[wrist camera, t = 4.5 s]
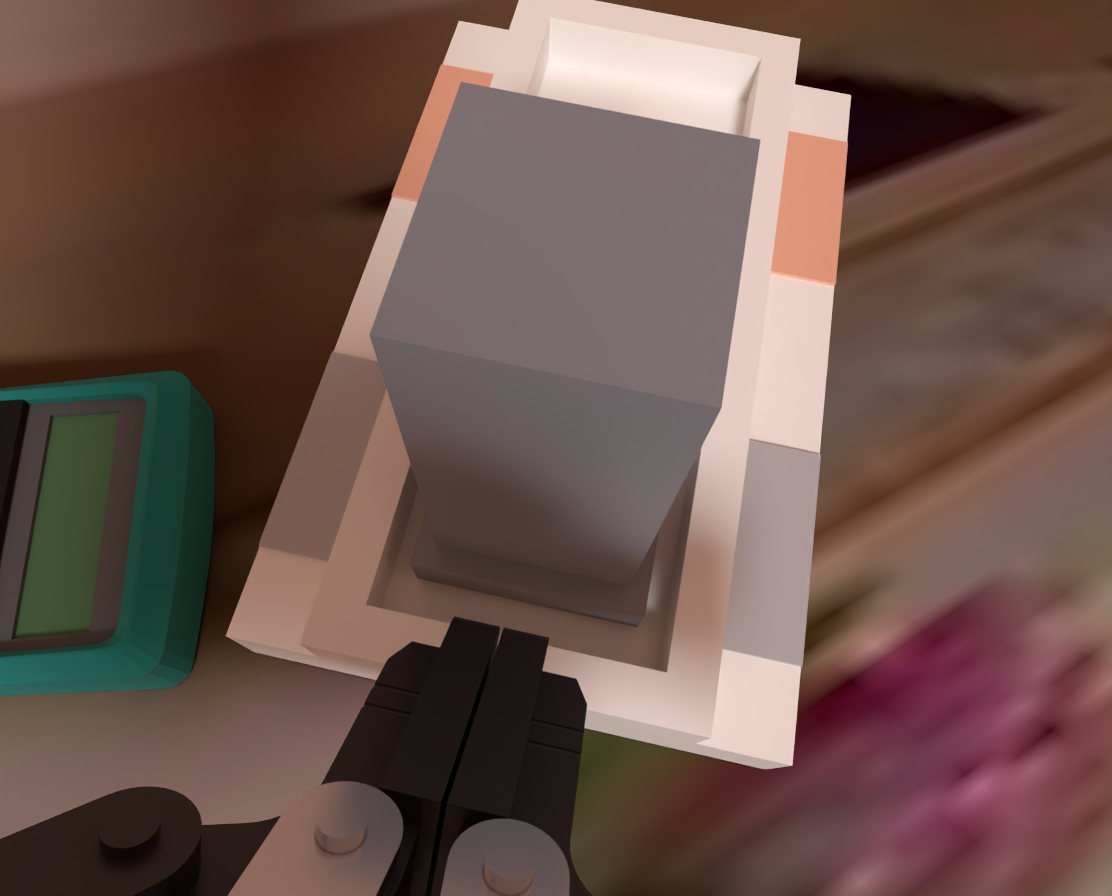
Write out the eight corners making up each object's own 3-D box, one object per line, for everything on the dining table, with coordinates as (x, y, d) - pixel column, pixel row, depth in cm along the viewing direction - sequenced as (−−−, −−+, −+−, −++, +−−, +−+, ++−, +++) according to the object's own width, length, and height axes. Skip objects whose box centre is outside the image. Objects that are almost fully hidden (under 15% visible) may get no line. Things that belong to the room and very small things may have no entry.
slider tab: (416, 577, 17) (320, 365, 9) (475, 378, 19) (441, 49, 11) (636, 627, 17) (751, 456, 9) (672, 419, 19) (794, 117, 11)
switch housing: (254, 652, 19) (200, 621, 16) (463, 74, 26) (455, -26, 23) (764, 769, 18) (817, 762, 15) (827, 145, 26) (870, 52, 23)
